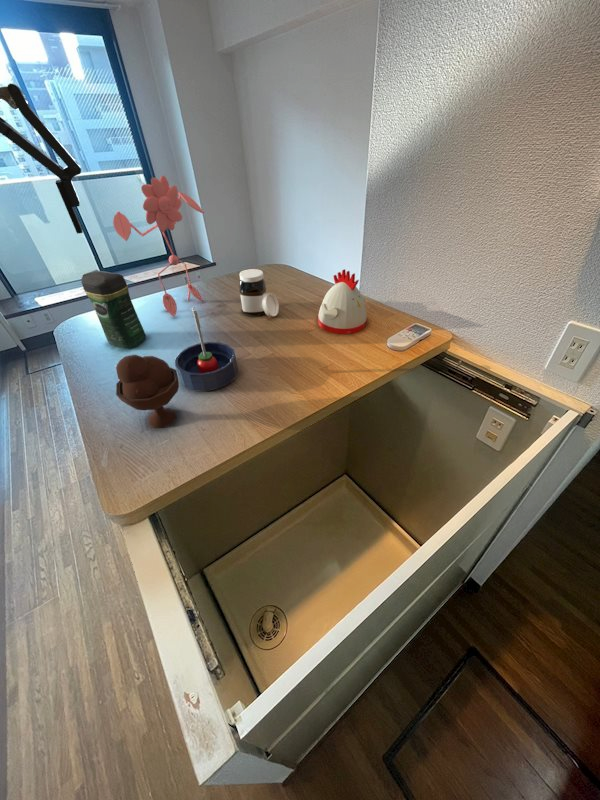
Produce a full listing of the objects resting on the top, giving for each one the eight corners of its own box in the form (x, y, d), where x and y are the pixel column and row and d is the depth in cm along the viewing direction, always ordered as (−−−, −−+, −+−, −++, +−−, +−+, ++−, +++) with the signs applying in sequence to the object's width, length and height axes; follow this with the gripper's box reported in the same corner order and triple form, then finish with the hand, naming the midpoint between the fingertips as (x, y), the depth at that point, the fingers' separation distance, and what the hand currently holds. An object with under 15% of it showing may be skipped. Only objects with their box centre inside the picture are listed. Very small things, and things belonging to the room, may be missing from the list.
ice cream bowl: (160, 446, 60) (131, 383, 50) (122, 424, 65) (89, 362, 55) (201, 412, 67) (183, 350, 57) (164, 394, 71) (141, 334, 62)
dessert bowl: (168, 382, 75) (162, 364, 71) (206, 354, 84) (202, 337, 80) (213, 399, 70) (209, 381, 67) (248, 367, 79) (246, 350, 75)
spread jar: (244, 304, 105) (239, 267, 98) (279, 303, 106) (277, 266, 98) (240, 321, 96) (235, 282, 89) (279, 320, 97) (276, 281, 89)
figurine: (141, 321, 97) (90, 181, 74) (204, 291, 114) (178, 169, 91) (176, 334, 91) (132, 187, 68) (237, 301, 107) (218, 172, 84)
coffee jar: (152, 338, 90) (128, 269, 78) (130, 352, 85) (100, 281, 72) (126, 331, 93) (99, 264, 81) (103, 344, 88) (71, 275, 75)
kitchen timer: (343, 339, 88) (348, 285, 78) (308, 321, 96) (308, 270, 86) (375, 322, 95) (383, 270, 85) (340, 307, 103) (344, 258, 93)
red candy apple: (202, 380, 74) (185, 316, 64) (197, 370, 77) (180, 307, 67) (221, 375, 76) (208, 311, 65) (216, 365, 79) (202, 302, 68)
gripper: (-290, -2, 28) (-89, 258, 42) (49, 22, 36) (121, 231, 50) (-232, 16, 33) (-71, 243, 47) (52, 34, 41) (117, 221, 55)
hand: (28, 237), depth 48 cm, fingers open, 13 cm apart
